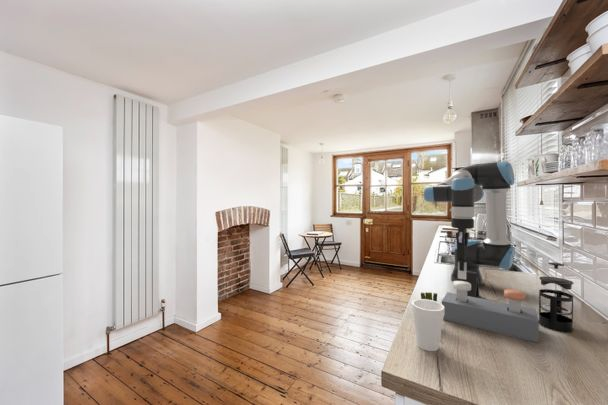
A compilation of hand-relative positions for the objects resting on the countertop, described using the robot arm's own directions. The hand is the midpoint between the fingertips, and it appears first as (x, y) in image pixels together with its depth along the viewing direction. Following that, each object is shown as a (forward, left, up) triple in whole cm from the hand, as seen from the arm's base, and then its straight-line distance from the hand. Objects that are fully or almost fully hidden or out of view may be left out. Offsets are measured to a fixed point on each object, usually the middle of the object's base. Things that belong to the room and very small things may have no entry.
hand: (462, 278), depth 103 cm
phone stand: (-28, 0, -16) cm, 32 cm away
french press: (-13, +28, -16) cm, 35 cm away
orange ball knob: (0, +16, -10) cm, 19 cm away
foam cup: (+29, -6, -16) cm, 33 cm away
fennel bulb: (+14, -9, -16) cm, 23 cm away
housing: (0, +8, -15) cm, 17 cm away
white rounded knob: (0, 0, -10) cm, 10 cm away
